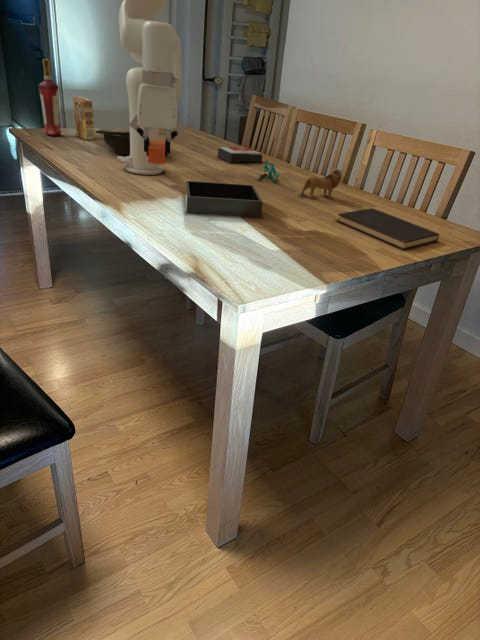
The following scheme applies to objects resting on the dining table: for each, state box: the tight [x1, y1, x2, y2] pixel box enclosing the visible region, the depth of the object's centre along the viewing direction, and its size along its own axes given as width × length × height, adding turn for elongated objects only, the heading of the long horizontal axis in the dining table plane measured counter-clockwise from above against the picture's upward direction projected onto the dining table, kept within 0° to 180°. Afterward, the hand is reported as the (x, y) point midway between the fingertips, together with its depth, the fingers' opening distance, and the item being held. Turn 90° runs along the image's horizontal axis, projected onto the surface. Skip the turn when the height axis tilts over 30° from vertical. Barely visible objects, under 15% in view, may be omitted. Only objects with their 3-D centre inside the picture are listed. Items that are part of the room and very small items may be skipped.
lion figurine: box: [299, 168, 343, 200], centre depth 155 cm, size 15×5×9 cm, turn 116°
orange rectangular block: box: [148, 139, 166, 165], centre depth 127 cm, size 4×12×4 cm, turn 7°
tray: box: [184, 180, 264, 219], centre depth 136 cm, size 21×17×5 cm
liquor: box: [38, 58, 62, 137], centre depth 192 cm, size 7×7×28 cm
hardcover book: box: [336, 207, 440, 251], centre depth 133 cm, size 16×23×2 cm
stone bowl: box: [94, 129, 162, 156], centre depth 186 cm, size 25×25×9 cm
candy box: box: [72, 96, 96, 141], centre depth 197 cm, size 9×4×15 cm, turn 44°
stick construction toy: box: [258, 160, 281, 183], centre depth 170 cm, size 12×7×8 cm
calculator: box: [217, 146, 263, 164], centre depth 193 cm, size 11×4×15 cm
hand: (157, 154), depth 127 cm, fingers closed on orange rectangular block, 4 cm apart
